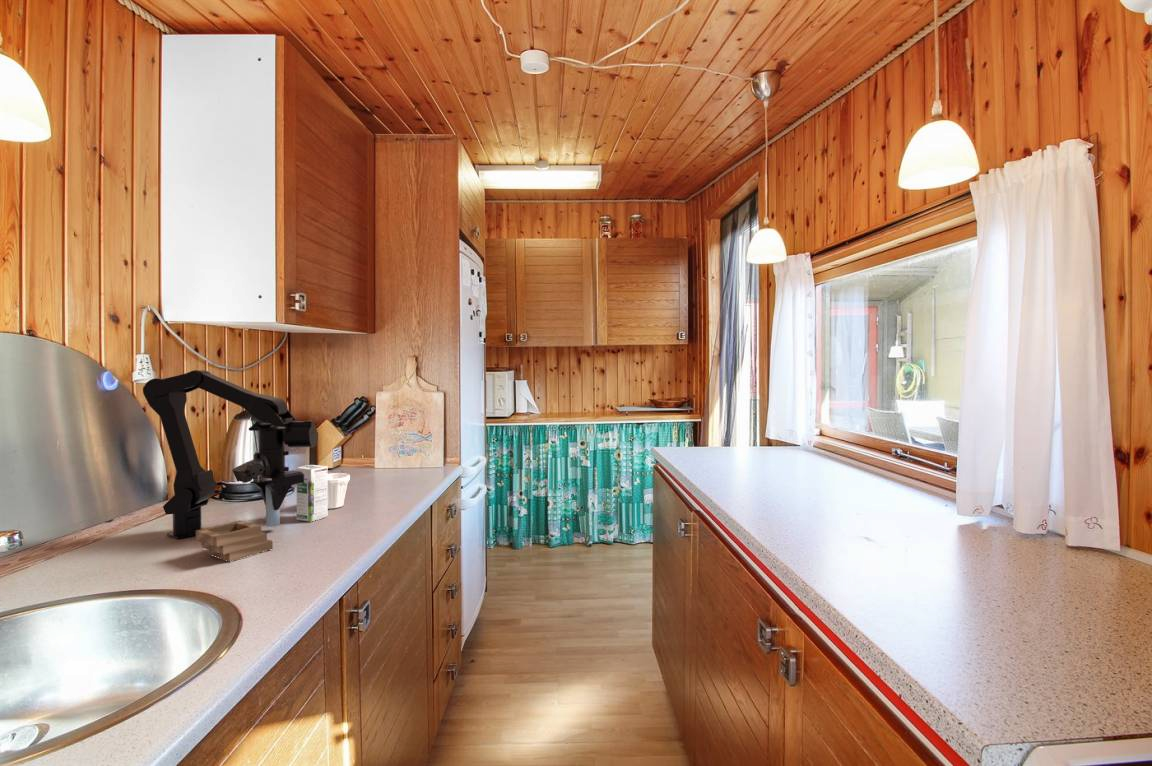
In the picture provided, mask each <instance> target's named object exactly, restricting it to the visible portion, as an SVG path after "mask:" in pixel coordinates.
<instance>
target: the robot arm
mask: <svg viewBox="0 0 1152 766" xmlns="http://www.w3.org/2000/svg"><path fill="white" fill-rule="evenodd" d="M197 389H200V390H203V391H205V392H208V393H209V394H212V395H214V396H216V397H219V398H221V399H224V400H225V401H228V402H231V403H233V404H235V405H237V406H240V407H241V408H242V409H244V410H245V411H246V413H247V414H249V415H250V416H251V417H252V418H255V419H256V421H255V422H254V424H252V425H251V426H250V427H248V431H251V432H253V431H254V432H255V431H256V432H257V433H258V435H257V436H258V438H257V440H258V451H256V452H254V454H253V459H251V460H249V461H246V462H244V463H242V464H240V465H238V466H236V467H234V468H232V470H231V471H232V473H233V475H234V478H235V479H236V482H242V483H243V484H245V483H250V484H251V485H253V486H255V487H256V488H258V490H259V493H260V495H261V498H262V500H263V502H264V505H265V507H266V487H267V488H269V489H270V490H271V495H272V502H273V508H274V510H279V508H281V507H282V505H283V502H284V501H285V499H286V496H287V494H288V493H289V491H290V489H291V488H292V486H293V485H297V484H299V483H304V482H305V475H304V474H303V473H302V472H301V471H297V470H296V469H295V470H294V469H292V470H289V469H290V467H289V466H287V465H286V456H289V455H290V454H289V452H290V451H289V450H286V445H287V446H288V448H315V447H316V446H317V444H318V440H319V432H318V429H317V426H316V425H315V421H314V420H313V419H312V420H310V419H308V420H300V421H298V420H297V419H296V418H295V416H294V415H293V414H292V413H291V412H290V410H289V409H288V405H287V402H286V401H285V400H284V399H282V398H280V397H275V396H271V395H268V394H263V393H257V392H253V391H251V390H248V389H246V388H244V387H242V386H239V385H237V384H235V383H234V382H231V381H228V380H226V379H224V378H221V377H219V376H217V375H215V374H212V373H211V372H209V371H208V370H204V369H202V370H199V369H198V370H196V369H195V370H191V371H189V372H186V373H181V374H178V375H174V376H171V377H167V378H163V377H161V378H158V377H157V378H151V379H150V380H148V381H147V382H146V383H145V384H144V386H143V387H142V393H143V396H144V398H145V400H146V402H147V403H148V404H147V405H148V406H149V407H150V408H151V409H152V410H153V411H154V412H155V413H156V415H158V416H159V418H160V422H161V426H162V428H163V431H164V435H165V437H166V441H167V445H168V447H169V448H168V449H169V451H170V455H171V458H172V462H173V465H174V467H175V476H174V481H173V493H174V494H173V496H172V497H171V498H170V499H169V500H168V501H167V502H166V503H164V505H163V506H162V509H163V512H164V513H165V514H166V515H172V531H169V532H167V533H166V536H168V537H171V538H174V539H177V540H181V539H185V538H189V537H193V536H196V531H197V530H201V529H204V528H203V527H202V524H203V523H202V507H204V506H206V505H208V502H209V500H210V498H212V497H213V495H214V493H215V492H216V485H218V483H217V482H216V480H215V477H214V472H213V470H212V469H209V470H206V469H204V468H203V467H202V466H201V463H200V461H199V458H198V454H197V451H196V447H195V443H194V441H193V438H192V437H193V436H192V434H191V431H190V427H189V423H188V421H187V417H186V414H185V409H186V405H187V400H188V398H187V397H188V396H187V393H191V392H193V391H196V390H197Z"/></svg>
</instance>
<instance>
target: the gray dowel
mask: <svg viewBox="0 0 1152 766" xmlns="http://www.w3.org/2000/svg"><path fill="white" fill-rule="evenodd" d="M280 508H281V507H280ZM280 508H279V510H274V508H273V502H272V495H271V490H270V489H269V488H267V487H266V506H265V527H267V528H269V527H271V528H272V527H276V526H279V525H281V519H280V518H281V514H280V513H281V510H280Z"/></svg>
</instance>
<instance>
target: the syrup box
mask: <svg viewBox="0 0 1152 766" xmlns="http://www.w3.org/2000/svg"><path fill="white" fill-rule="evenodd" d="M328 467H329V466H328V465H318V464H317V465H316V464H307V465H303V466H299V467H298V466H297V467H296V471H301V472H302V473H303V474H304V475H305V482H304V483H299V484H296V521H304V522H309V523H312V521H313V522H316V521H318V520H321V519H325V518H328V516H329V515H328V514H329V513H328V511H329V510H328V474H329V473H328V469H329V468H328ZM315 520H316V521H315Z"/></svg>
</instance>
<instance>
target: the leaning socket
mask: <svg viewBox="0 0 1152 766" xmlns="http://www.w3.org/2000/svg"><path fill="white" fill-rule="evenodd" d="M195 541H198V542H201V545H202V546H201V548H202V549H206V550H208V555H209V554H210V555H209V556H211V555H214V556H216V557H219V558H221V559H220V560H222V559H224V560H223V561H225V560H227V561H233V560H236V561H238V560H237V559H239V560H241V559H240V558H243V559H245V558H244V557H246V558H248V557H247V556H249V557H251V556H250V555H253V556H255V555H254V554H256V555H258V554H257V553H260V552H263V551H266V550H270V549H273V548H274V547H273V542H274V541H273V540H270V539H268V533H266V532H262V526H261V525H258V524H255V523H251V522H247V521H243V520H236V521H232V522H226V523H223V524H219V525H218V524H217V525H215V526H212V527H211V526H210V527H206V528H203V529H201V530H197V531H196V535H195ZM270 551H271V550H270ZM266 552H267V551H266ZM263 553H264V552H263ZM260 554H261V553H260ZM214 556H213V557H214ZM216 557H215V558H216ZM219 558H218V559H219ZM227 561H226V562H227ZM233 562H234V561H233Z"/></svg>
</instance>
